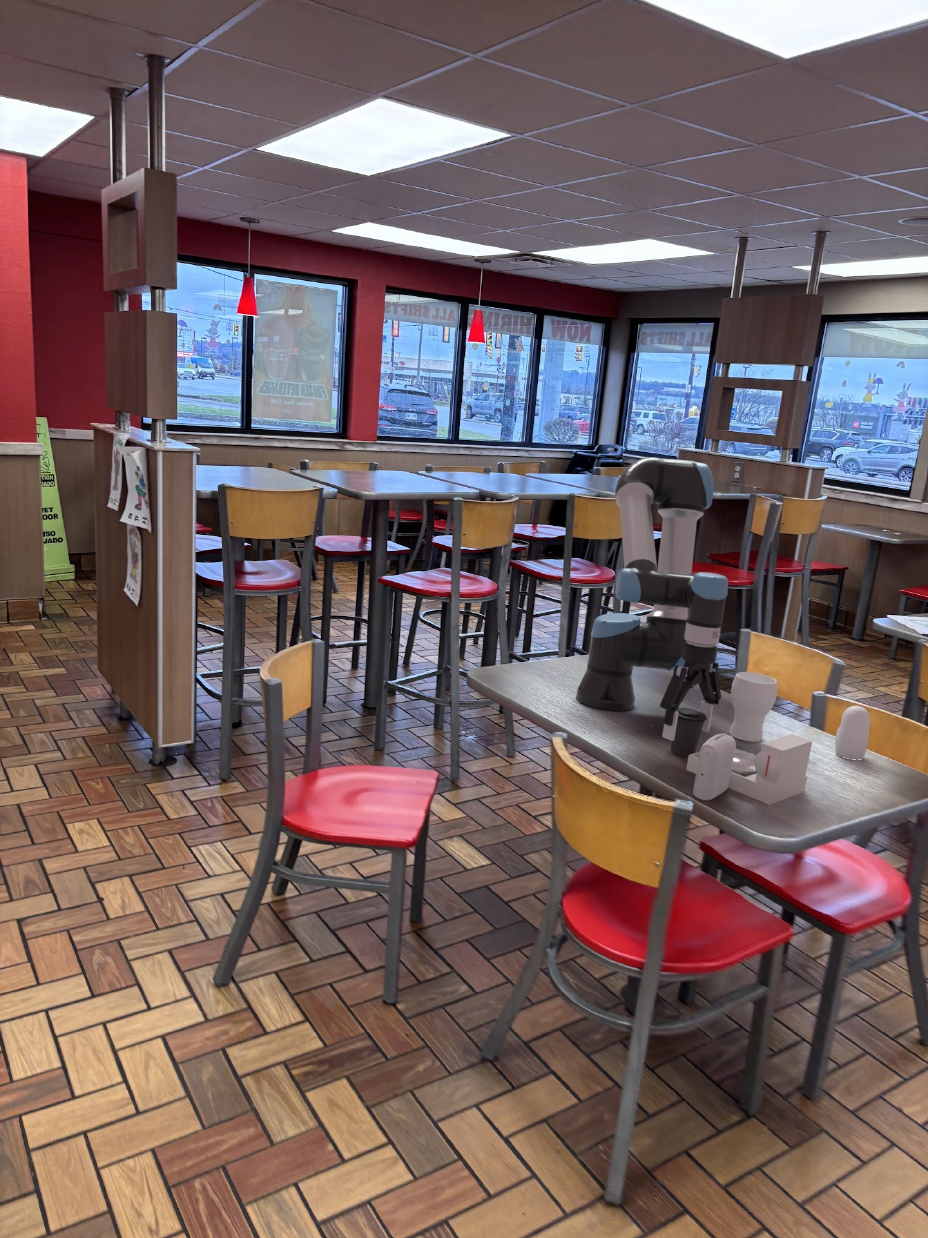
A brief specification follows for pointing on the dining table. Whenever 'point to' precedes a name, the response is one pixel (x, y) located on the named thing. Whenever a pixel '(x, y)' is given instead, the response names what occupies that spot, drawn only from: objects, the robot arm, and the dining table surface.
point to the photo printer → (714, 767)
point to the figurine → (853, 733)
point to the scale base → (772, 770)
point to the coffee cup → (687, 731)
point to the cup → (751, 704)
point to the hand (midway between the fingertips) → (686, 734)
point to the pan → (743, 762)
